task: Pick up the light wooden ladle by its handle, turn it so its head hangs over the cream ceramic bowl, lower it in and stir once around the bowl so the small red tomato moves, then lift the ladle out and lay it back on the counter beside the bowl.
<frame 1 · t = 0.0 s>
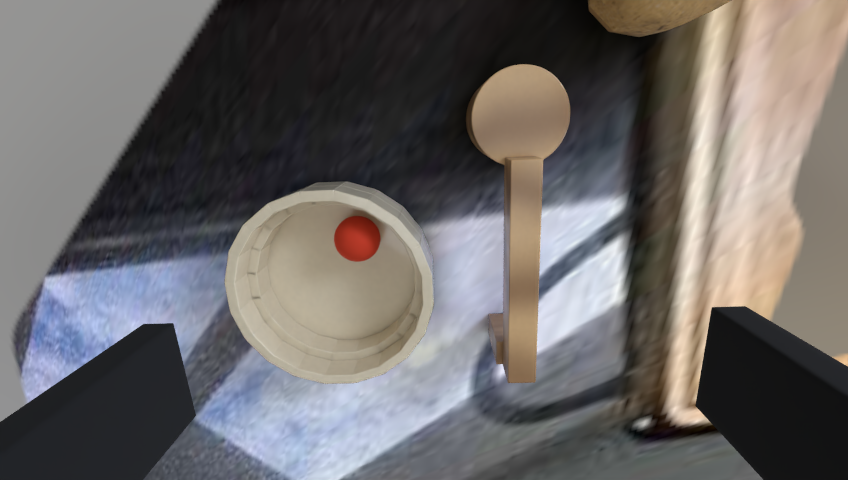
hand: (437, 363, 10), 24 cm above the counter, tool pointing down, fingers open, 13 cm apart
bowl: (343, 270, 35), on the counter
tomato: (357, 238, 31), point 2 cm above the counter, touching bowl
ladle: (507, 118, 31), on the counter
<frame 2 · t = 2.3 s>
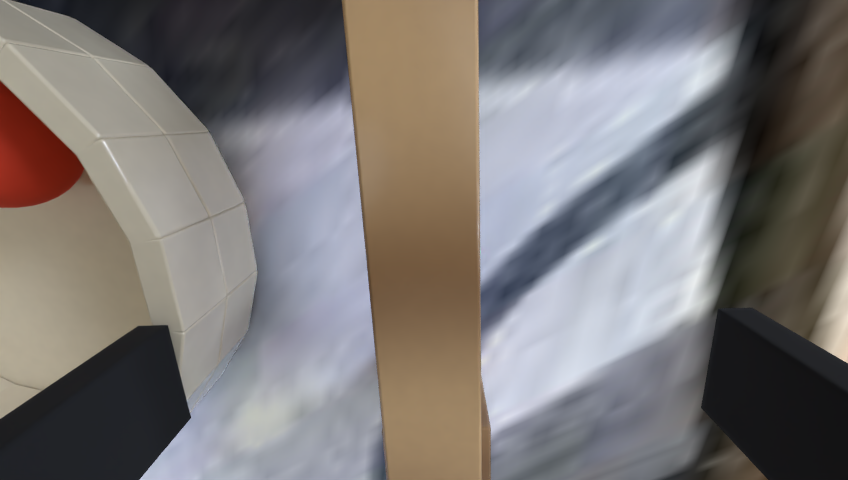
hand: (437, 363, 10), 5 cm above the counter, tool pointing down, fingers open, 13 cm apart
bowl: (53, 240, 15), on the counter
tomato: (4, 144, 11), point 2 cm above the counter, touching bowl
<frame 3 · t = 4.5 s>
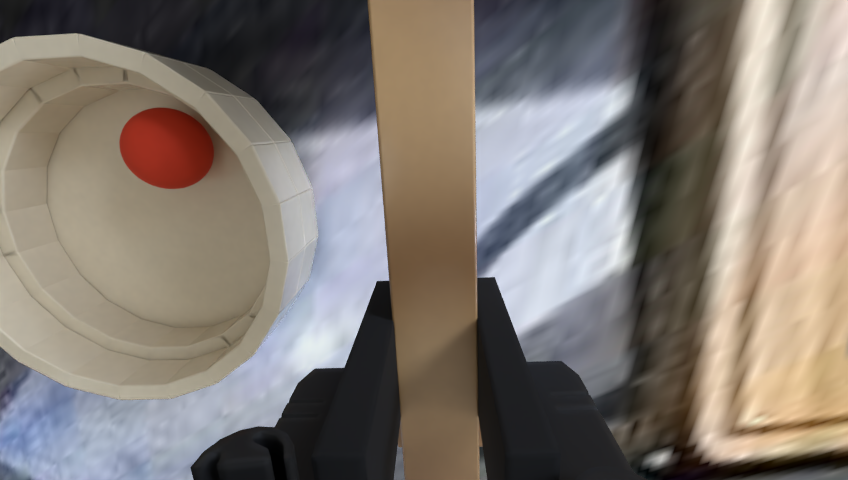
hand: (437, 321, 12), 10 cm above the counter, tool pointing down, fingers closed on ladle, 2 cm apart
bowl: (176, 215, 21), on the counter
tomato: (169, 149, 18), point 2 cm above the counter, touching bowl
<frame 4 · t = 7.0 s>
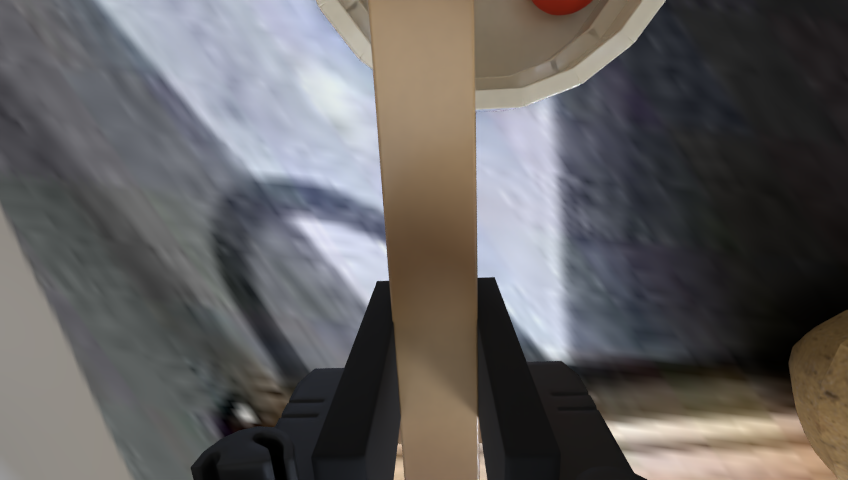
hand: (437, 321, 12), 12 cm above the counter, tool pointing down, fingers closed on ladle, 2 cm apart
potato: (831, 361, 25), on the counter
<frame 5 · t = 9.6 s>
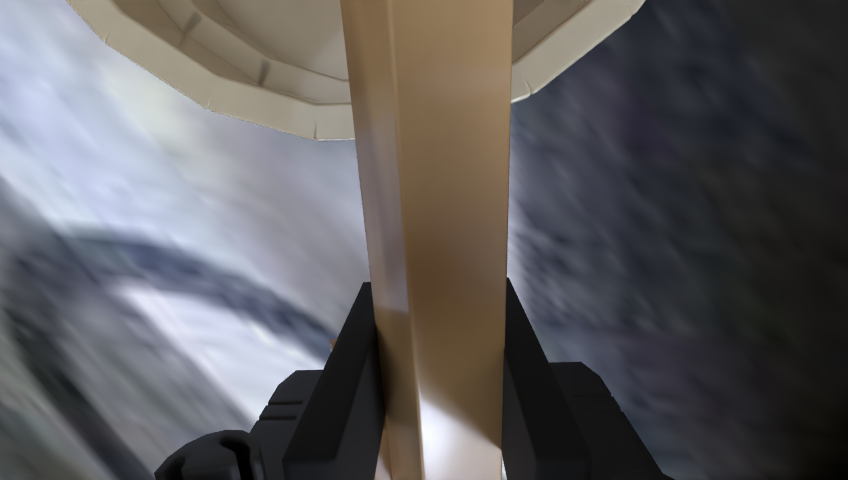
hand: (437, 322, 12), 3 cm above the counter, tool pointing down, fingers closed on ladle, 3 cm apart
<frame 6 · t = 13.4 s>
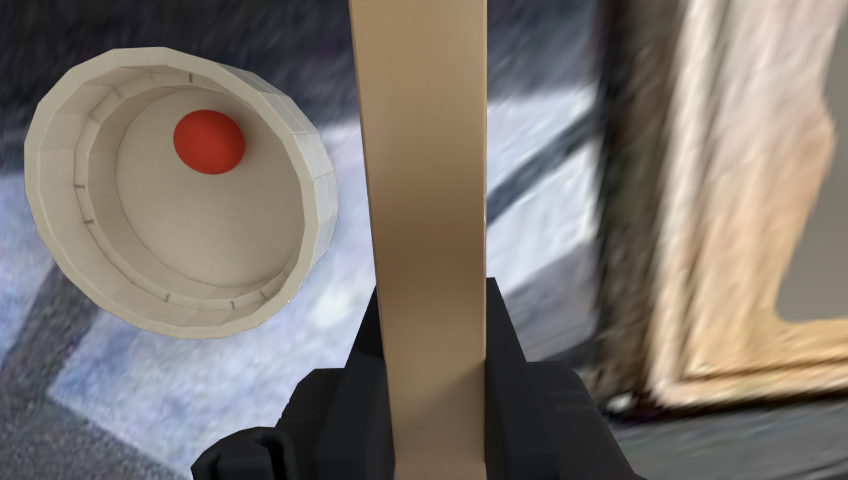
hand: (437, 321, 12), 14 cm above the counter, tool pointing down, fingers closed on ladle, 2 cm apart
bowl: (220, 192, 26), on the counter
tomato: (210, 142, 23), point 2 cm above the counter, tilted 24°, touching bowl
when the fingers open (3 cm above the counter, at t = 16.1 s): ladle stays where it is, on the counter.
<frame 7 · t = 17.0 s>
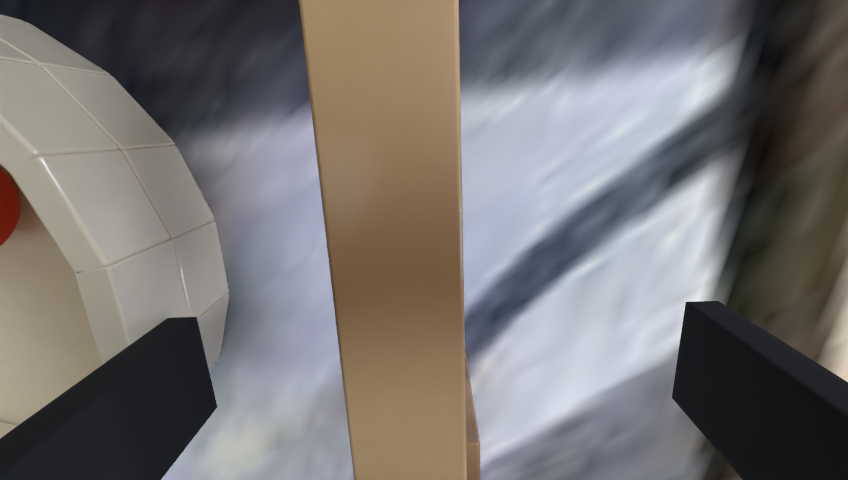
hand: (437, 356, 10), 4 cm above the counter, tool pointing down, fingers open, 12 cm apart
bowl: (9, 259, 14), on the counter
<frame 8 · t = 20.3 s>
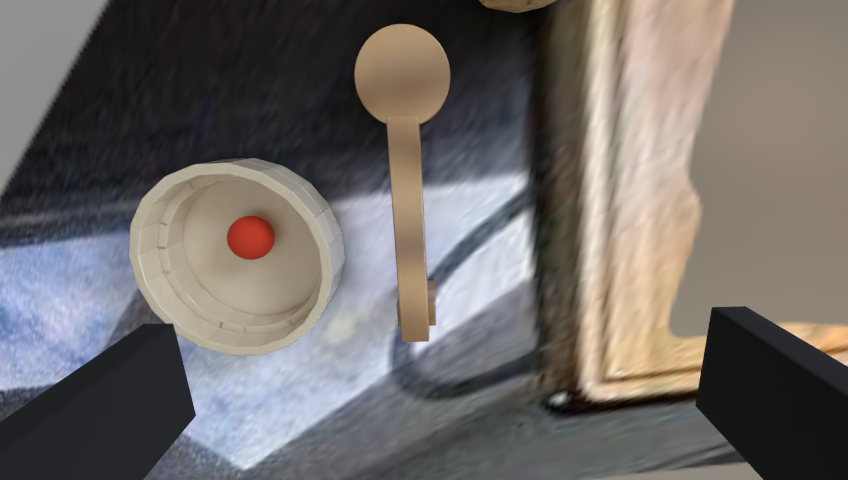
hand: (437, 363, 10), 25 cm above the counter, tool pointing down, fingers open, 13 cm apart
bowl: (258, 247, 35), on the counter
tomato: (251, 237, 33), point 2 cm above the counter, tilted 73°, touching bowl
ladle: (407, 84, 31), on the counter
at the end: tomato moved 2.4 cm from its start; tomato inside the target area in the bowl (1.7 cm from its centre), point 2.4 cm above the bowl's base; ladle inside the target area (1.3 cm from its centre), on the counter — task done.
